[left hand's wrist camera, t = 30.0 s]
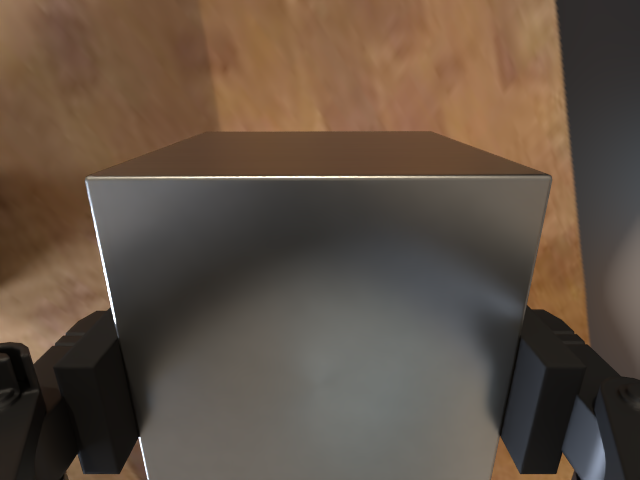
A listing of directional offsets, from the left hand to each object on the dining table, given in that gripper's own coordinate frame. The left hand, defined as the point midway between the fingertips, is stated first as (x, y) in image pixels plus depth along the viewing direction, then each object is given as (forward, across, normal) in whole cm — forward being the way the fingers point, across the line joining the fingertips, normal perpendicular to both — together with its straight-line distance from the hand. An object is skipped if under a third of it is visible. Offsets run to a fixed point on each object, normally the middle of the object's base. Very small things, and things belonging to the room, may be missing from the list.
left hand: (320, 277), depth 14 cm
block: (+3, 0, 0) cm, 3 cm away
